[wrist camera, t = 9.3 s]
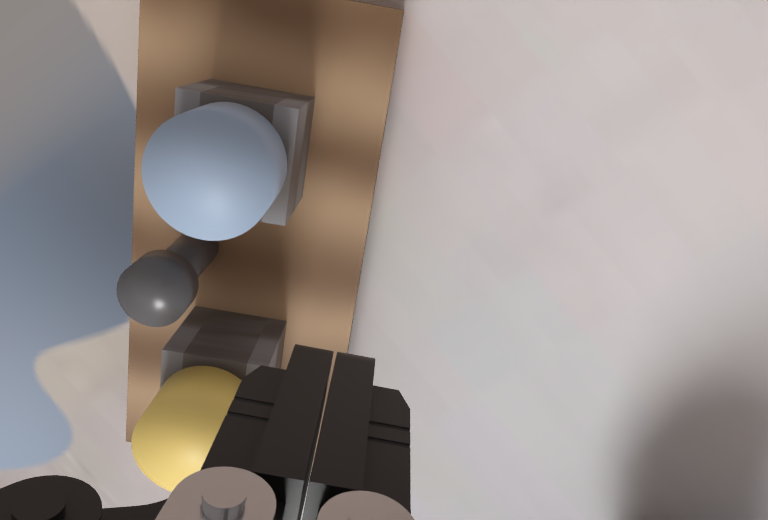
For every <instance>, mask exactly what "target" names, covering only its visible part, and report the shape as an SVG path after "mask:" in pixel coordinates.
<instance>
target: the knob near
mask: <svg viewBox="0 0 768 520" xmlns="http://www.w3.org/2000/svg"><path fill="white" fill-rule="evenodd" d="M141 172H142V181H143V186H144V189H145V192H146V195H147V197H148V199H149V201H150V203H151V205H152V206H153V208H154V209H155V211H156V212H157V213H158V214H159V216H160V217H161V218H162V219H163V220H164V221H165V222H167V223H168V224H169V225H170V226H171V227H173V228H174V229H176V230H177V231H179V232H181V233H183V234H185V235H187V236H190V237H193V238H196V239H201V240H208V241H220V240H227V239H231V238H234V237H237V236H239V235H241V234H243V233H245V232H247V231H248V230H250V229H251V228H252V227H253V226H254V225H256V223H257V222H258V221H259V220H260V219H261V218H262V216H263V215H264V214H265V213H266V211H267V210H268V209H269V207H270V206H271V205H272V203H273V202H274V201H275V199H276V198H277V197H278V195H279V194H280V192H281V190H282V188H283V186H284V182H285V179H286V174H287V156H286V151H285V148H284V145H283V142H282V140H281V138H280V136H279V134H278V132H277V131H276V129H275V128H274V127H273V126H272V124H271V123H270V122H269V121H268V120H267V119H266V118H265V117H264V116H262V115H261V114H259V113H258V112H257V111H255V110H253V109H251V108H249V107H247V106H244V105H242V104H238V103H233V102H214V103H209V104H206V105H203V106H200V107H198V108H195V109H192V110H190V111H187V112H184V113H182V114H179V115H177V116H174V117H172V118H170V119H169V120H167V121H166V122H164V123H163V124H162V125H161V126H160V127H158V128H157V129H156V131H155V132H154V133H153V134H152V136H151V137H150V139H149V141H148V142H147V145H146V147H145V150H144V153H143V157H142V166H141Z"/></svg>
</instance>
